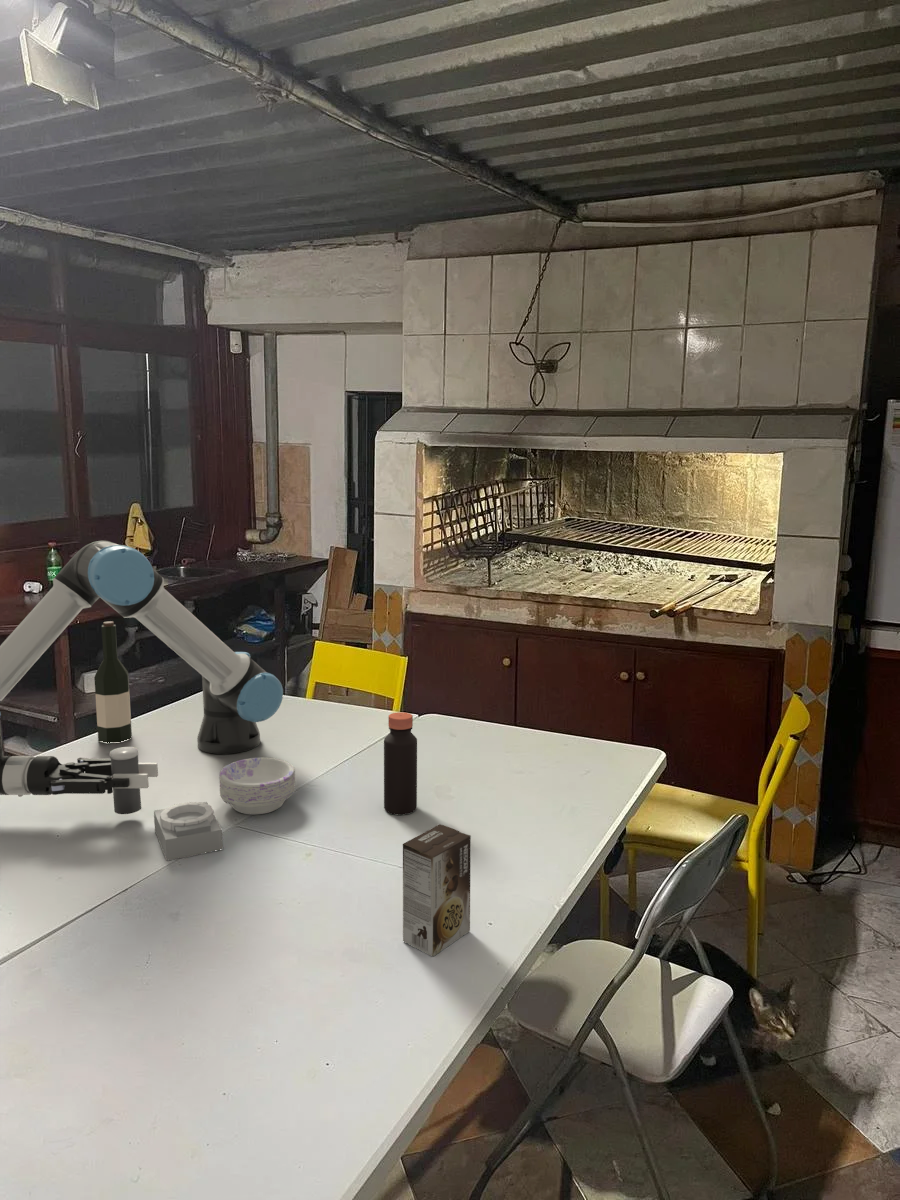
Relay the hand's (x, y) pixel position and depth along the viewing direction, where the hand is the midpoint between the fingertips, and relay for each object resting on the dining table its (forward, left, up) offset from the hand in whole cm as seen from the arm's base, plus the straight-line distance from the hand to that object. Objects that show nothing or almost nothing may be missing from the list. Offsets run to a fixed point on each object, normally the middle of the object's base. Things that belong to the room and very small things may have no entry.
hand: (152, 775), depth 172 cm
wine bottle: (+2, -54, -10) cm, 55 cm away
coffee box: (-32, +62, -10) cm, 70 cm away
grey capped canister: (+5, -2, -7) cm, 9 cm away
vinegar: (-46, +16, -10) cm, 50 cm away
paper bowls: (-20, +2, -10) cm, 23 cm away
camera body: (-4, +12, -9) cm, 16 cm away
